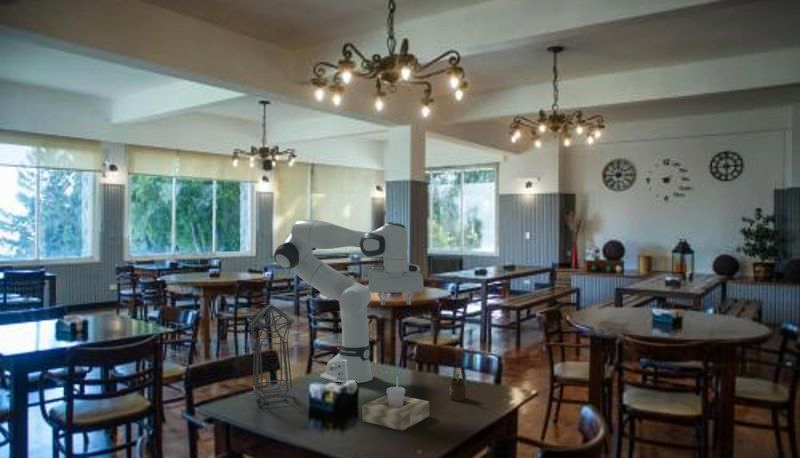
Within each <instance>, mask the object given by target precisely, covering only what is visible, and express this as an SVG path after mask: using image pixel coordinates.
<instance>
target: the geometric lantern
mask: <svg viewBox="0 0 800 458" xmlns="http://www.w3.org/2000/svg"><path fill="white" fill-rule="evenodd" d="M274 312H276V313H277V315H275V314H274ZM265 313H266V315H265ZM270 313H271V317H270ZM278 314H279V315H278ZM264 315H265V317H264ZM275 318H277V319H275ZM282 318H284V319H285V320H286V321H284V322H279V323H277V322H278V321H279V320H280V319H282ZM245 320H246V321H247V324H248V326H249V330H250V331H251V334H252V336H253V362H252V363H253V370H252V387H253V390H254V393H255V394H256V395H257V396H259V400H261V402H262V403H263V404H269V403H276V401H277V402H284V400H285V401H286V400H287V393H288V392H289V391H290V390H291V389H293V383H292V374H291V363H290V352H289V351H290V350H289V343H288V342H289V341H288V340H289V334H290V333H289V331H290V329H291V326H292V325H293V323H294V322H295V320H294V319H293V318H291V317H290V316H289V315H288V314H287V313H285V312H284V311H282V310H280V309H279V308H278V307H276V306H274V305H273V304H268V305H265V306H264V307H262V308H261V309H259V310H257V311H256V312H255V313H253V314H252V315H250V316H248V317H247V318H246V319H245ZM260 320H264V323H263V322H261V321H260ZM270 320H272V323H271V324H269V321H270ZM280 325H282V326H280ZM277 326H280V327H279V328H278V329H277ZM254 327H256V328H258V329H260V330H261V331H260V333H259V335H258V337H256V333H255V331H254ZM265 327H266V330H265ZM269 327H273V328H274V330H272V331H270V330H269ZM284 327H286V329H285V331H284V333H283V336H282V334H281V333H280V332H279V331H280V330H281V329H283V328H284ZM263 332H264V333H266V335H265V337H261V336H262V333H263ZM274 333H276V334H277V335H276V336H270V337H269V336H268V335H269V334H274ZM286 335H287V337H286ZM274 338H275V339H276V338H279V342H274V343H273V342H272V343H264V344H263V342H264V341H265V339H274ZM260 340H262V341H261V343H260ZM269 345H270V346H272V345H279V352H280V353H279V355H280V379H278V380H277V379H276V380H268V381H263V365H262V364H263V363H262V362H263V361H262V346H269ZM282 352H283V354H282ZM282 356H283V358H282ZM283 362H284V373H285V374H284V375H285V377H284V378H285V379H283ZM259 370H260V371H259ZM259 373H260V374H259ZM259 375H260V379H259ZM259 380H260V382H259ZM277 382H279V387H278V388H272V389H267V390H264V387H263V385H264V384H271V383H277ZM282 382H285V383H284V384H283V385H282V386H281V384H282ZM285 386H286V388H285V389H283V388H284V387H285ZM278 394H279V395H278ZM270 395H271V396H270ZM274 397H283V399H278V400H271V401H270V400H269V401H268V398H274Z"/></svg>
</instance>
